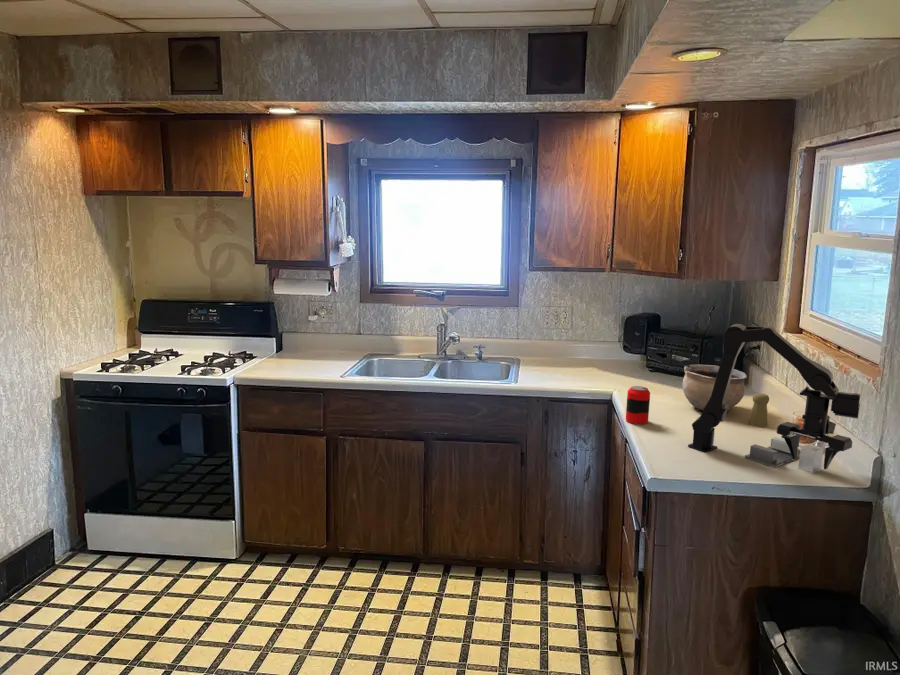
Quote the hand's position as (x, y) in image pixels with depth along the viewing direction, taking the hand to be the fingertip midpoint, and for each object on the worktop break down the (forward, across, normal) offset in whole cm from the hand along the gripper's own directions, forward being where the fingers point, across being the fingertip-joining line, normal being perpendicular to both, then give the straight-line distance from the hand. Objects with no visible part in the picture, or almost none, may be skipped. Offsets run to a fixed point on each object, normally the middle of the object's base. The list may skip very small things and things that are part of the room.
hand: (809, 464), depth 196 cm
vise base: (+1, +11, 0) cm, 11 cm away
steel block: (+1, 0, 0) cm, 1 cm away
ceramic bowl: (+2, +51, -31) cm, 60 cm away
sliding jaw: (0, +11, -10) cm, 15 cm away
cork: (+2, +31, -28) cm, 42 cm away
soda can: (+2, +57, +5) cm, 57 cm away
